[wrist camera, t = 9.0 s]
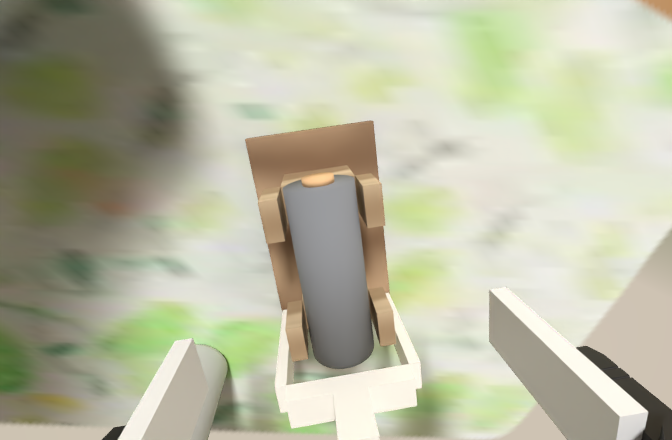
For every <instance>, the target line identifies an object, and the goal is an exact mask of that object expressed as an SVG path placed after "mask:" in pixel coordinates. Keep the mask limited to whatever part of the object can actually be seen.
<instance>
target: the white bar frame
mask: <svg viewBox="0 0 672 440" xmlns="http://www.w3.org/2000/svg"><path fill="white" fill-rule="evenodd" d="M385 294H386V296H387V298H388V301H389V303H390V305H391V307H392V310H393V314H394V325H395V336H396V344H394V346H395V349H396V351H397V354H398V357H399V359H400V362H401V365H399V366H394V367H388V368H382V369H377V370H371V371H365V372H359V373H354V374H348V375H342V376H337V377H331V378H325V379H319V380H314V381H308V382H302V383H297V384H293V378H294V362H292V358H291V354H290V349H289V344H288V340H287V335H286V330H285V327H286V316H287V310H283V312H282V322H281V331H280V341H279V350H278V359H277V369H276V378H275V391H276V396H277V400H278V404H279V408H280V412H281V413H284V412H288V416H289V420H290V424H291V429H292V428H297V427H303V426H308V425H314V424H319V423H325V422H330V421H336V427H337V437H338V440H380V437H379V432H378V428H377V424H376V419H375V415H374V414H375V413H380V412H386V411H391V410H397V409H402V408H408V407H414V406H417V398H416V389H418V388H422V379H421V364H420V360H419V358H418V356H417V353H416V351H415V349H414V347H413V345H412V342H411V340H410V338H409V336H408V334H407V331H406V329H405V327H404V325H403V323H402V321H401V318H400V316H399V314H398V312H397V310H396V307H395V305H394V303H393V301H392V299H391V296H390V294H389V293H385Z"/></svg>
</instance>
